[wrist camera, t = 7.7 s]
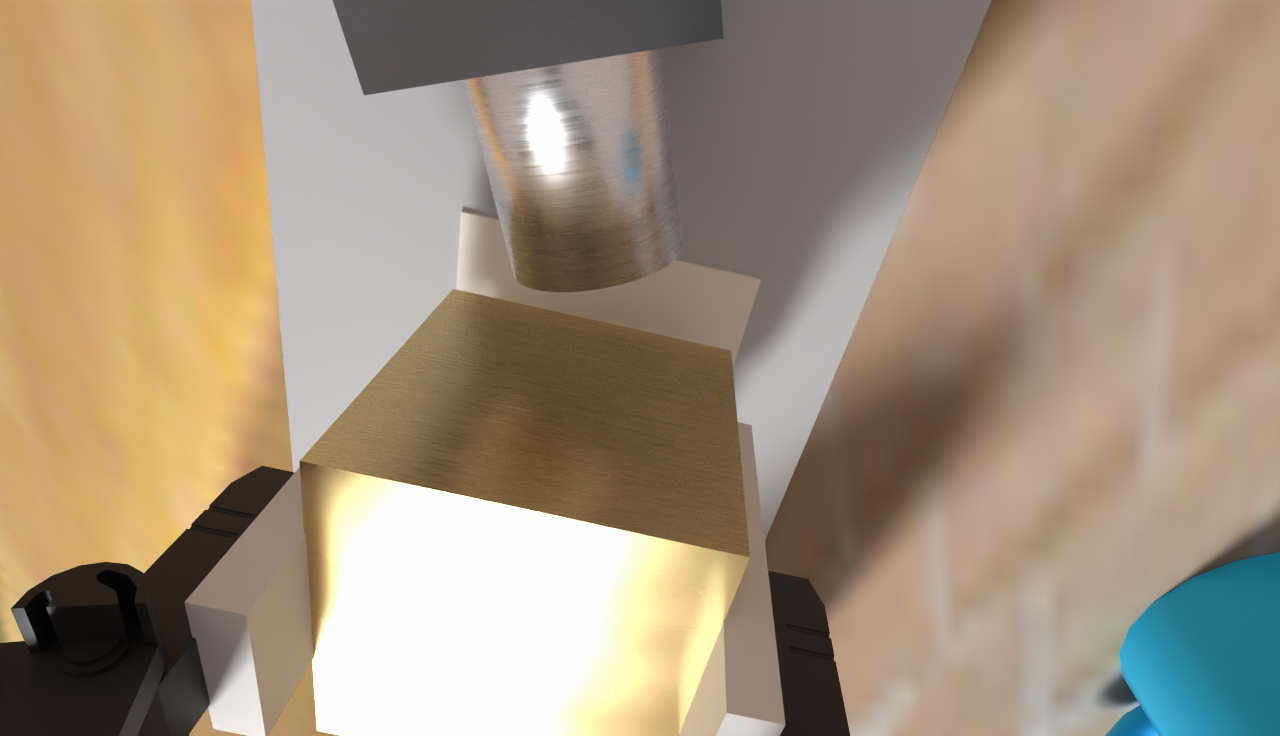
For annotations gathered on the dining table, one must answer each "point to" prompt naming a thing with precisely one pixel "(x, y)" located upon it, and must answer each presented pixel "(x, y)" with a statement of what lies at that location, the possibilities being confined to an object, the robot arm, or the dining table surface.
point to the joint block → (524, 529)
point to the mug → (1208, 656)
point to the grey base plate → (706, 185)
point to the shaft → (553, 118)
